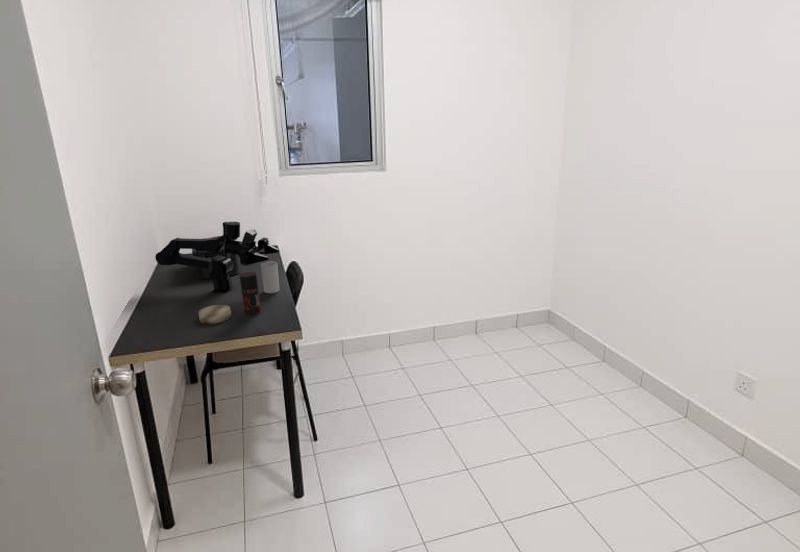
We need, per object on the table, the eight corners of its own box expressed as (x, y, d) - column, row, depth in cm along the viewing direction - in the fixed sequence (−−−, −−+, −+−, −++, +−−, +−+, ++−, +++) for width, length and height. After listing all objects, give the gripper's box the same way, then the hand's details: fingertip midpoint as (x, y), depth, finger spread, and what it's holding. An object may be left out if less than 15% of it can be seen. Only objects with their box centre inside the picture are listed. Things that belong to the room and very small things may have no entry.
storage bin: (198, 264, 250) (194, 238, 246) (238, 259, 256) (234, 234, 252) (195, 280, 224) (191, 252, 220) (240, 275, 230) (236, 247, 226)
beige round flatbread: (194, 323, 176) (193, 316, 175) (207, 312, 187) (206, 304, 186) (224, 323, 175) (223, 316, 174) (235, 312, 186) (234, 304, 185)
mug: (279, 293, 205) (276, 265, 201) (262, 294, 204) (259, 266, 200) (281, 285, 214) (278, 258, 211) (265, 286, 213) (262, 259, 210)
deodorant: (247, 309, 188) (242, 271, 184) (262, 309, 188) (258, 271, 183) (242, 315, 183) (237, 276, 178) (258, 315, 182) (253, 276, 178)
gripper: (225, 236, 191) (262, 243, 189) (250, 223, 208) (284, 229, 205) (226, 262, 196) (262, 269, 193) (250, 247, 213) (284, 254, 210)
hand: (273, 254), depth 200 cm, fingers open, 9 cm apart
